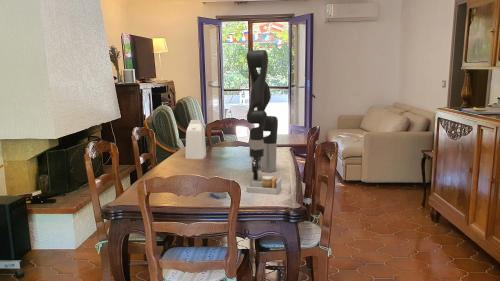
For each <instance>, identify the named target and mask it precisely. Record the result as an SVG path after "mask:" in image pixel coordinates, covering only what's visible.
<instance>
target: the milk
mask: <svg viewBox="0 0 500 281" xmlns="http://www.w3.org/2000/svg"><path fill="white" fill-rule="evenodd" d="M205 132H206V131H205V128H204V126H203V124H202V122H201V120H200V119H191V120H190V121H189V124H188V126H187V128H186V132H185V155H184V156H185V159H187V160H188V159H190V160H191V159H193V160H204V159H205V157H207V151H206V148H207V146H206V133H205Z"/></svg>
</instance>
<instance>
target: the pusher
mask: <svg viewBox="0 0 500 281" xmlns="http://www.w3.org/2000/svg"><path fill="white" fill-rule="evenodd" d="M277 178H278V177H277V176H274V177H273V179H272V188H273V189H276V183H277V181H278V179H277Z"/></svg>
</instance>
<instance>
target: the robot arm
mask: <svg viewBox="0 0 500 281" xmlns="http://www.w3.org/2000/svg"><path fill="white" fill-rule="evenodd" d="M246 63H247V64H246V65H247V67H248V72H249V75H250V78H251V84H252V86H251V90H250V103H249V107H248V111H247V114H246V121H247V122H248V123H249V124H256V125H257V124H258V126H256V127H252V128H250V130H249V136H250V137H249V138H250V139H249V156H250V158H253V159H252V160H251V161H252V162H251V174H252V173H253V179H254V180H257V179H258V169H259V167H262V169H261V172H263V173H264V172H265V173H274V172H277V144H278V141H277V140H278V127H279V125H278V124H279V120H278V117H277V116H275V115H267V114H268V113H267V112H266V111H265V110H266V108H267V106H268V105H269V103H270V101H271V98H272V97H271V96H272V94H271V89H270V85H269V84H268V83H267V81H266V79H267V74H268V73H267V72H268V64H269V56H268V52H267V50H265V49H258V50H248V51H247V52H246ZM258 69H260V71H259V72H258ZM255 109H256V110H255ZM264 132H269V134H268V135H266V136H264ZM254 169H256V171H255V170H254Z"/></svg>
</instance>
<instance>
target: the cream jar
mask: <svg viewBox="0 0 500 281" xmlns="http://www.w3.org/2000/svg"><path fill="white" fill-rule="evenodd" d="M261 169H262V167H259V169H258V179H257V180H254V179H253V173H252V172H251V181H254V182H262V171H261ZM254 170H255V171H256V169H254Z"/></svg>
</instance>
